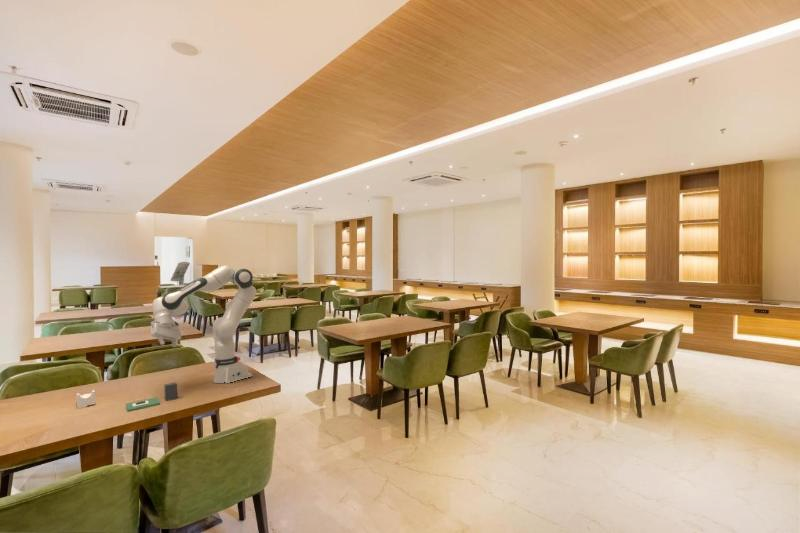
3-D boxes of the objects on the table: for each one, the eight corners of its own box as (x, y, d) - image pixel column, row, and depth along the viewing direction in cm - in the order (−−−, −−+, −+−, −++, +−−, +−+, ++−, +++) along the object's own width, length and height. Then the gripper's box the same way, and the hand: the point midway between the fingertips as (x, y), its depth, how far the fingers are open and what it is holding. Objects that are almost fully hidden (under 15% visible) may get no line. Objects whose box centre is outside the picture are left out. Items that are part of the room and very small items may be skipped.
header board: (156, 398, 208) (156, 391, 208) (160, 404, 200) (159, 397, 200) (125, 405, 199) (125, 398, 199) (127, 411, 191) (127, 404, 191)
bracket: (95, 405, 201) (94, 391, 201) (77, 409, 196) (76, 394, 196) (93, 399, 211) (93, 385, 210) (76, 402, 206) (76, 388, 206)
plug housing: (176, 396, 212) (175, 382, 211) (177, 398, 209) (177, 383, 209) (164, 398, 208) (164, 384, 208) (165, 400, 205) (165, 386, 205)
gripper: (156, 317, 210) (160, 340, 205) (180, 324, 229) (185, 345, 224) (145, 322, 210) (149, 345, 205) (171, 328, 229) (175, 349, 224)
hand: (168, 345), depth 215 cm, fingers open, 8 cm apart
